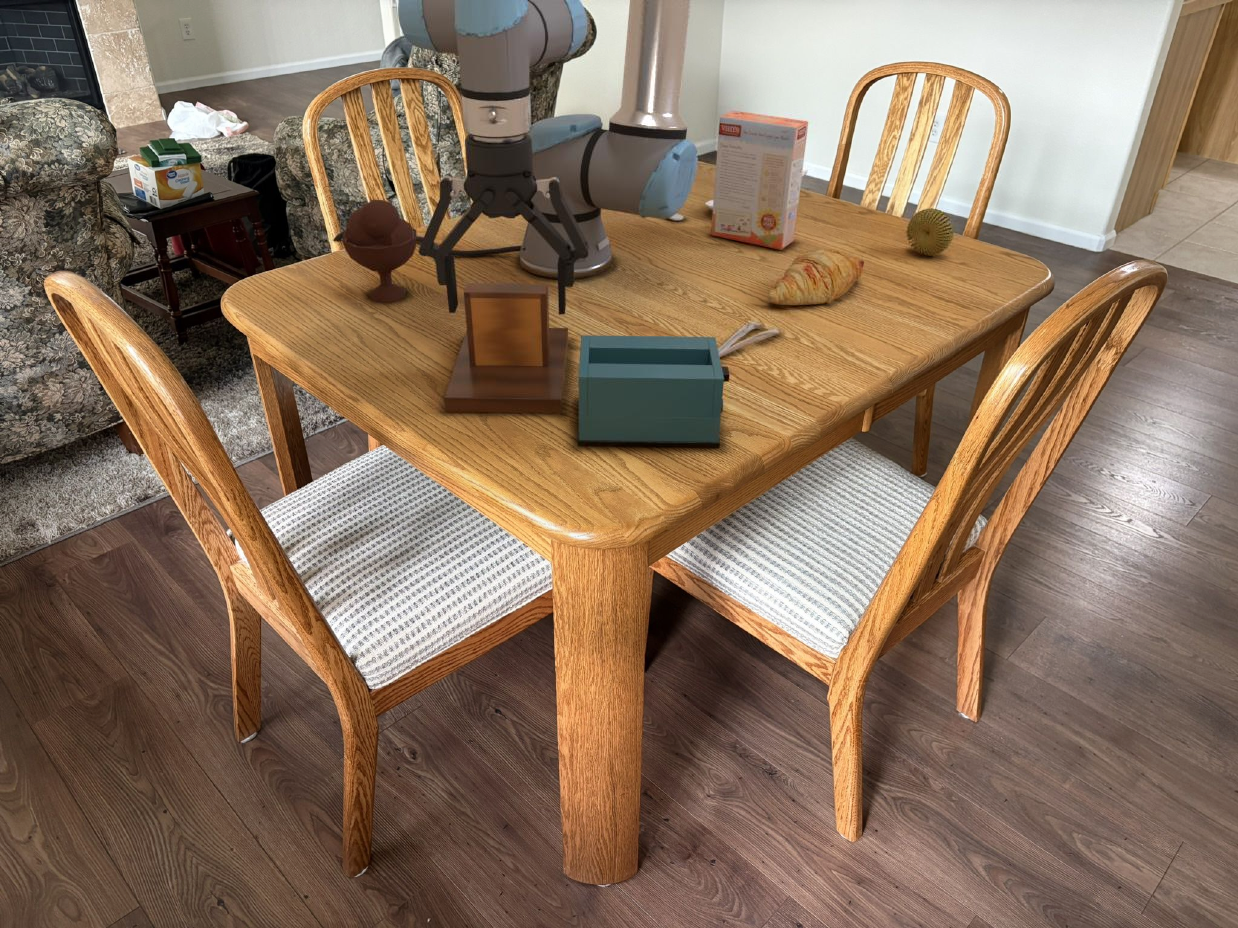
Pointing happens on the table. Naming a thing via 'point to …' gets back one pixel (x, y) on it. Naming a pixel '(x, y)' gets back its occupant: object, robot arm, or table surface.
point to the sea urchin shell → (930, 232)
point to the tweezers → (740, 333)
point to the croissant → (816, 278)
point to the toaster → (650, 391)
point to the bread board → (509, 383)
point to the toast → (507, 324)
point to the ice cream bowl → (380, 245)
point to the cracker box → (758, 178)
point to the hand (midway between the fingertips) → (508, 309)
